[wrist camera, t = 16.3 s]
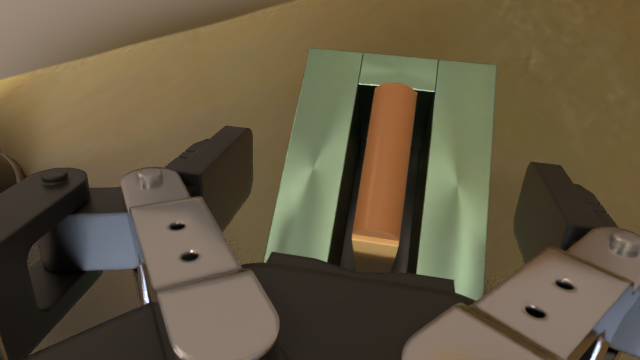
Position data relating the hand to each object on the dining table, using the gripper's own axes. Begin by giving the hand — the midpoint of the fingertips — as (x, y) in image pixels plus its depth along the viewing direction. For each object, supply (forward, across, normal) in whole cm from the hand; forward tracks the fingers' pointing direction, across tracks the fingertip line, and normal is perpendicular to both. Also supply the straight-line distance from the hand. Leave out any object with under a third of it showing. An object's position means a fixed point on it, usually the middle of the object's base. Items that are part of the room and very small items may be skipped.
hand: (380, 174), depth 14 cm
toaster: (+17, 0, +12) cm, 21 cm away
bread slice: (+13, 0, +9) cm, 16 cm away
